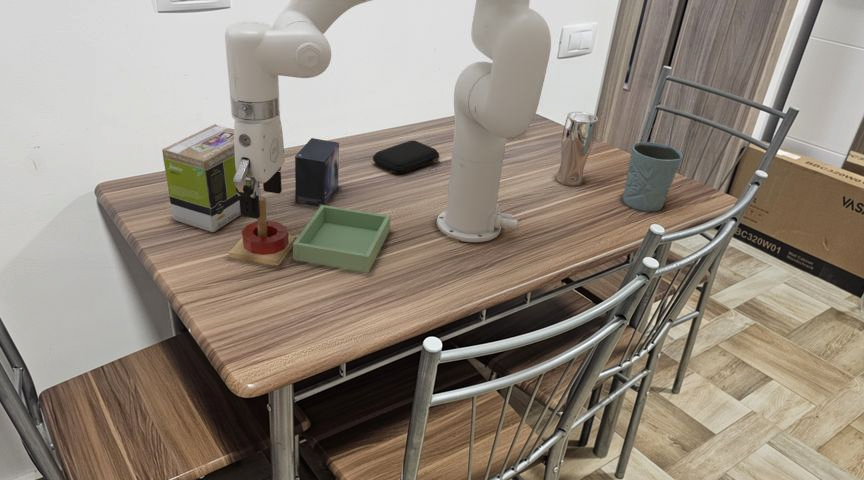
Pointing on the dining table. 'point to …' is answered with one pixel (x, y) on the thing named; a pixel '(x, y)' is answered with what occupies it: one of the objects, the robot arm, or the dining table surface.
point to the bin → (342, 238)
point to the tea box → (203, 179)
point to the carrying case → (406, 157)
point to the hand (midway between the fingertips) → (261, 203)
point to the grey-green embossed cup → (650, 175)
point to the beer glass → (576, 147)
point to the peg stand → (271, 259)
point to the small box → (316, 172)
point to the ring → (267, 245)
